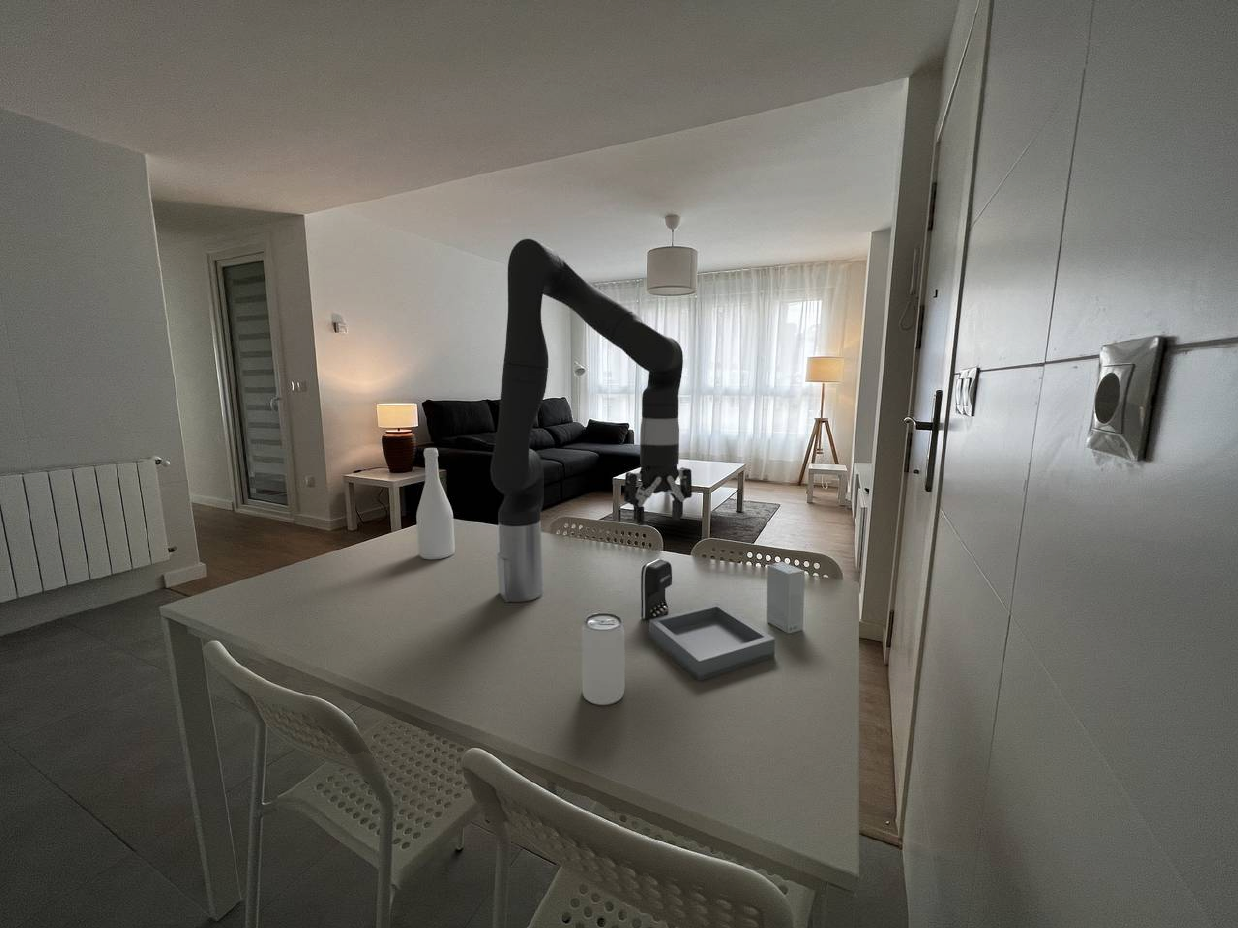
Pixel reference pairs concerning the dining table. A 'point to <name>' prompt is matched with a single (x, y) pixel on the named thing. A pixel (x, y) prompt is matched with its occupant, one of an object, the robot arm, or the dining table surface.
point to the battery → (655, 588)
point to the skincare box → (785, 597)
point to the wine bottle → (434, 514)
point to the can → (603, 659)
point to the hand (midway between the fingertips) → (658, 521)
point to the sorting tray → (711, 640)
